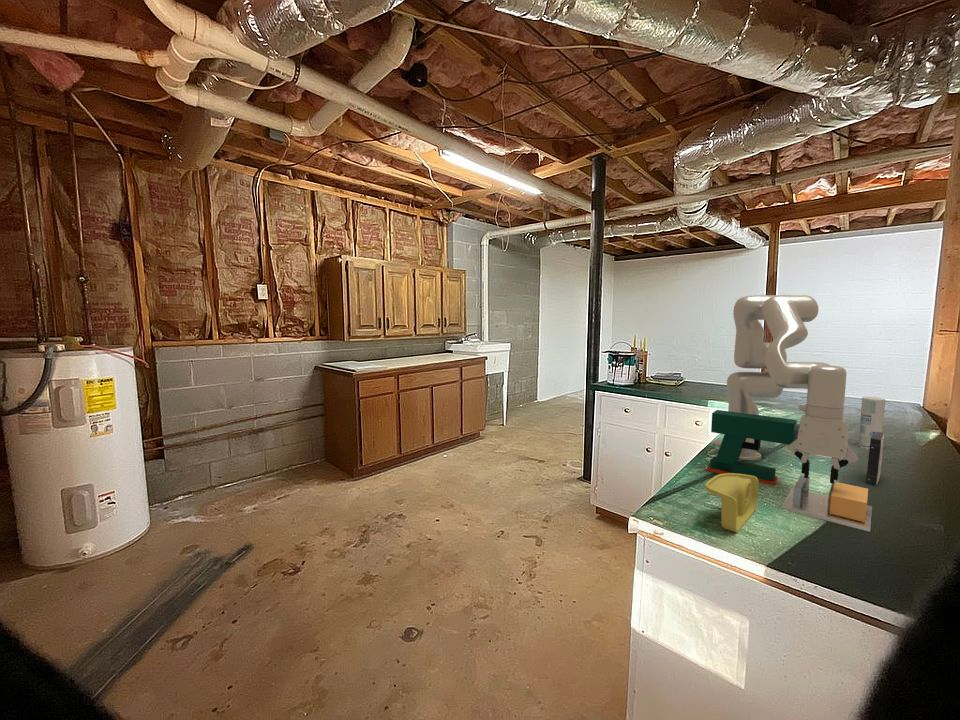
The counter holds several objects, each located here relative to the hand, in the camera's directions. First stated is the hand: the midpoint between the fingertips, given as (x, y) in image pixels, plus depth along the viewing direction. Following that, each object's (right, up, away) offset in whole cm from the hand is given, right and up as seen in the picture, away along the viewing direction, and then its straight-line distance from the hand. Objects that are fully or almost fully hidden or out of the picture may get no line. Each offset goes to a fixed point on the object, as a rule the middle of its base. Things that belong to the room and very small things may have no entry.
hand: (819, 478), depth 109 cm
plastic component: (-26, -9, -4) cm, 28 cm away
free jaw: (+4, -7, -4) cm, 9 cm away
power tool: (0, -7, +20) cm, 21 cm away
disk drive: (+33, -6, +19) cm, 39 cm away
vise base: (+1, -8, -1) cm, 8 cm away
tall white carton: (+63, -3, +52) cm, 82 cm away
